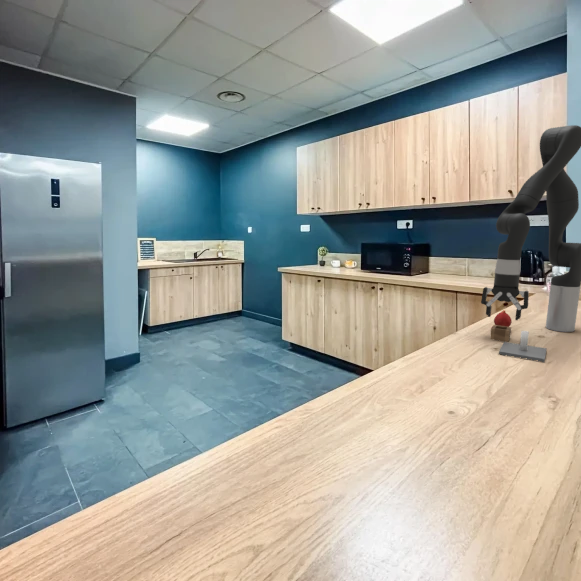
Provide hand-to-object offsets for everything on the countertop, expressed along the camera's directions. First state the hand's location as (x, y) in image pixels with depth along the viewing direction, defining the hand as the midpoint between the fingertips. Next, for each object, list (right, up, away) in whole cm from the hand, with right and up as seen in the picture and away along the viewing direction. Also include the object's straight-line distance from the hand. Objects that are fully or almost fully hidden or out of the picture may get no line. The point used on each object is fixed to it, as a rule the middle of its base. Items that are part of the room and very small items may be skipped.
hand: (502, 318), depth 134 cm
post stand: (-1, -10, -13) cm, 17 cm away
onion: (+6, -6, +12) cm, 15 cm away
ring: (0, -7, +2) cm, 8 cm away
